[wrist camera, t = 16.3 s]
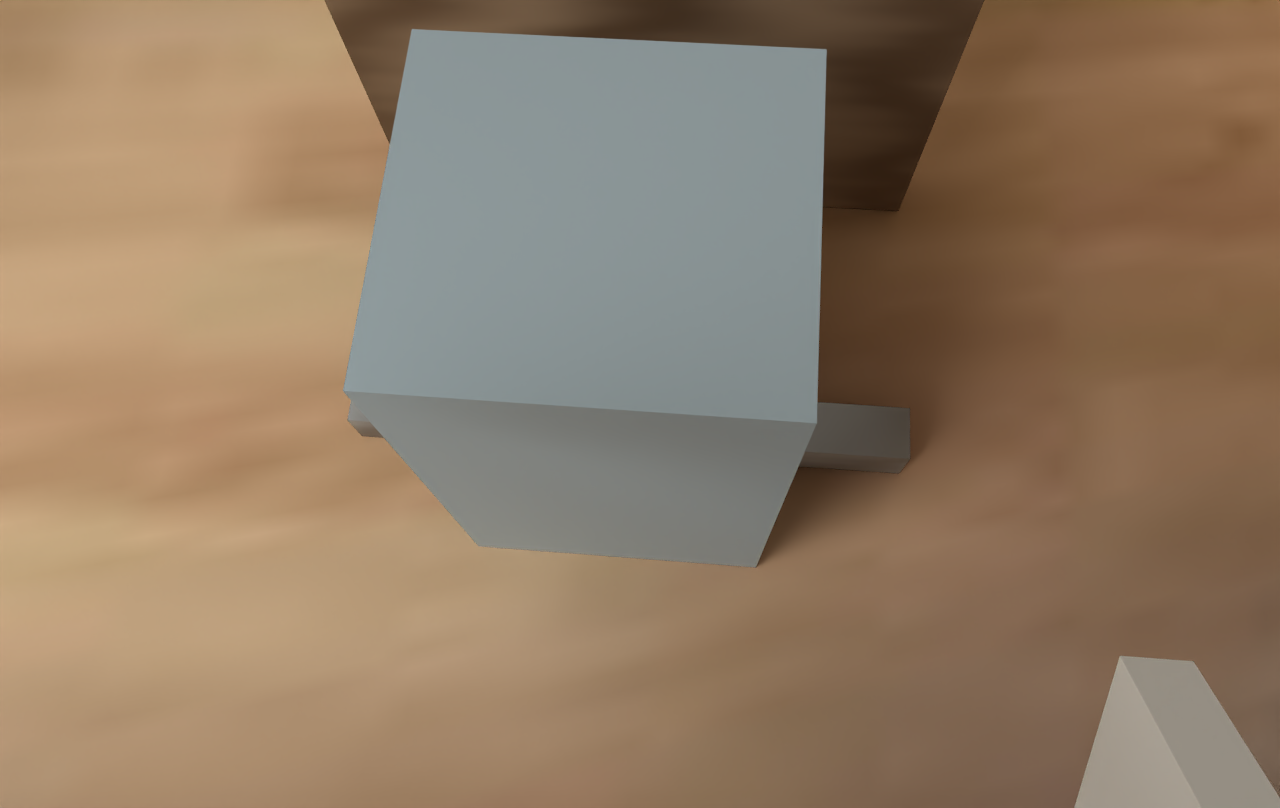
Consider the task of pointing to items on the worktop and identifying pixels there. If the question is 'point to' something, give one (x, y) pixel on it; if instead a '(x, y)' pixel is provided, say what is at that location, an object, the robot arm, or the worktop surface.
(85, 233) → the worktop surface
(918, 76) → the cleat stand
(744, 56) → the mini cabinet
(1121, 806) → the robot arm
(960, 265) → the worktop surface
